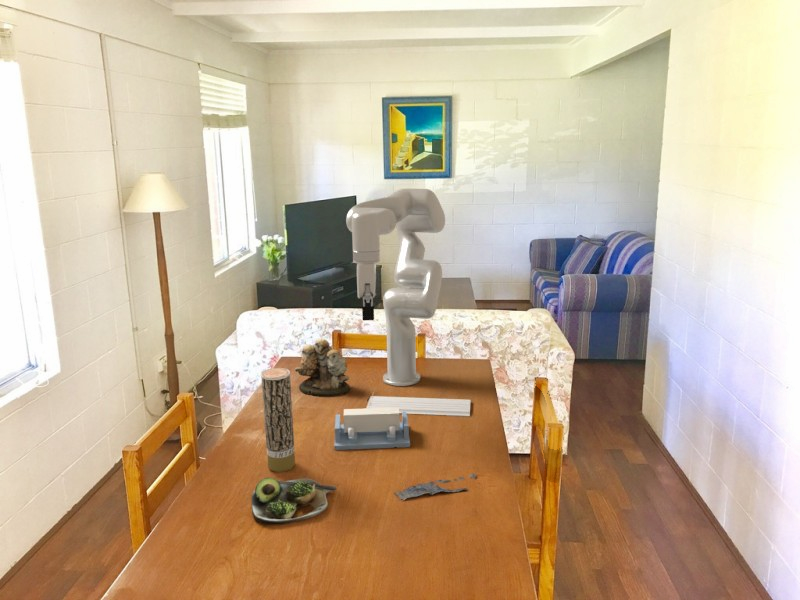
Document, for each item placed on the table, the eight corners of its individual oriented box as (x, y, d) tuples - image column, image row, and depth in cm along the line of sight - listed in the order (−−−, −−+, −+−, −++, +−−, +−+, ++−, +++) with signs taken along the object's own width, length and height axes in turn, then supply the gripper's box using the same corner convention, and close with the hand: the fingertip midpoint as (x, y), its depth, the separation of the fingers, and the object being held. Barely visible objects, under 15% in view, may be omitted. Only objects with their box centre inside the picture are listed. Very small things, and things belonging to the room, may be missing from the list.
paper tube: (262, 467, 165) (255, 373, 159) (284, 457, 170) (278, 366, 164) (278, 476, 161) (272, 380, 154) (300, 465, 165) (295, 372, 159)
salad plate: (331, 477, 161) (330, 460, 159) (344, 517, 144) (343, 498, 143) (250, 488, 156) (248, 471, 155) (253, 531, 139) (252, 512, 138)
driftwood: (397, 504, 149) (397, 496, 149) (390, 489, 155) (390, 481, 155) (483, 493, 154) (483, 485, 153) (473, 478, 160) (473, 471, 160)
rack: (334, 450, 173) (333, 432, 172) (336, 428, 186) (335, 411, 184) (410, 446, 174) (410, 428, 173) (406, 425, 187) (406, 408, 186)
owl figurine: (291, 395, 210) (287, 344, 206) (302, 382, 221) (299, 333, 217) (346, 398, 207) (343, 346, 203) (354, 384, 218) (352, 335, 214)
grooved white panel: (469, 421, 191) (470, 404, 202) (469, 411, 190) (470, 395, 202) (364, 416, 195) (370, 400, 206) (364, 407, 194) (370, 391, 205)
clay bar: (344, 432, 177) (343, 415, 176) (344, 426, 181) (343, 409, 180) (399, 430, 178) (399, 413, 177) (398, 423, 182) (398, 407, 181)
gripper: (353, 251, 192) (354, 307, 196) (352, 262, 175) (354, 324, 179) (378, 250, 192) (380, 306, 196) (380, 262, 175) (382, 323, 180)
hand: (368, 315), depth 188 cm, fingers open, 9 cm apart
